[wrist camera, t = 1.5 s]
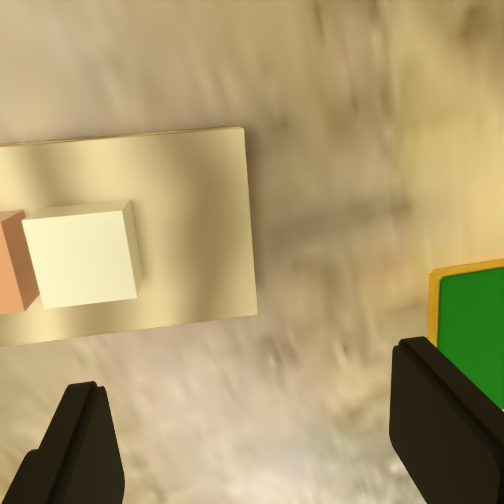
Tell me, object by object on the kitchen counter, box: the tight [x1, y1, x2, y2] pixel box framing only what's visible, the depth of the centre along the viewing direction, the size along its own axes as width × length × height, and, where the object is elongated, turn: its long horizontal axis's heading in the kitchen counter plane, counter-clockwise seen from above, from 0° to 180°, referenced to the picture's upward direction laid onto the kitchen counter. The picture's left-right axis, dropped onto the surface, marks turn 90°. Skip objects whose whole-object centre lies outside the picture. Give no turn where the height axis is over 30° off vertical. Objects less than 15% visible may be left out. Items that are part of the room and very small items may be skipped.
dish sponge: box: [427, 259, 504, 409], centre depth 36 cm, size 7×14×2 cm, turn 7°
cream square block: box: [21, 200, 143, 309], centre depth 24 cm, size 5×5×3 cm
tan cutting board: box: [0, 126, 258, 347], centre depth 27 cm, size 20×12×5 cm, turn 94°
